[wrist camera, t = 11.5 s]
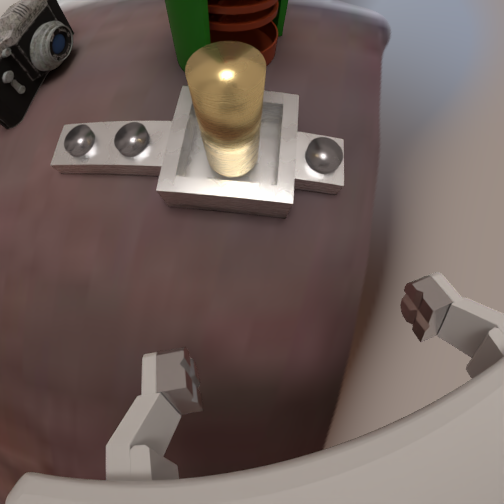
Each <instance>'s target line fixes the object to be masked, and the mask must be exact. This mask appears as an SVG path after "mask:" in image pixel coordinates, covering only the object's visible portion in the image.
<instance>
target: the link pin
mask: <svg viewBox="0 0 504 504" xmlns="http://www.w3.org/2000/svg"><path fill="white" fill-rule="evenodd" d="M185 74H186V78H187V82H188V86H189V90H190V94H191V98H192V102H193V106H194V110H195V114H196V118H197V122H198V125H199V129H200V133H201V137H202V141H203V145H204V148H205V152H206V156H207V160H208V163H209V165H210V167H211V168H212V169H213V170H214V171H215V172H217V173H218V174H220V175H222V176H226V177H237V176H241V175H244V174H246V173H247V172H249V171H250V170H251V169H252V168H253V167H254V166H255V164H256V162H257V159H258V151H259V140H260V129H261V118H262V107H263V96H264V85H265V74H266V61H265V59H264V57H263V55H262V54H261V53H260V52H259V51H258V50H257V49H256V48H254V47H253V46H251V45H248V44H246V43H242V42H237V41H220V42H215V43H211V44H208V45H206V46H204V47H202V48H200V49H198V50H197V51H196V52H195V53H193V54H192V56H191V57H190V58H189V60H188V61H187V64H186V67H185Z"/></svg>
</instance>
